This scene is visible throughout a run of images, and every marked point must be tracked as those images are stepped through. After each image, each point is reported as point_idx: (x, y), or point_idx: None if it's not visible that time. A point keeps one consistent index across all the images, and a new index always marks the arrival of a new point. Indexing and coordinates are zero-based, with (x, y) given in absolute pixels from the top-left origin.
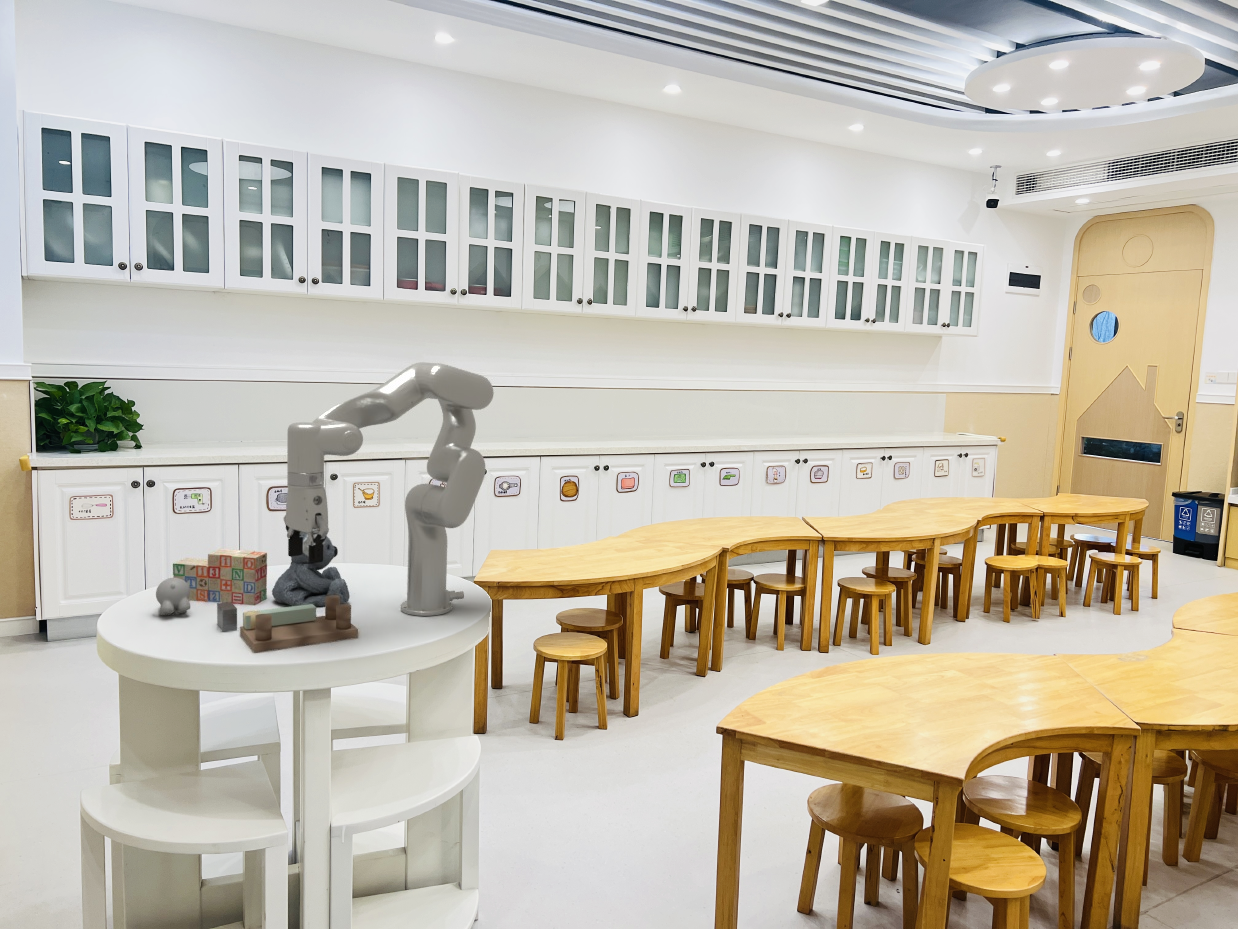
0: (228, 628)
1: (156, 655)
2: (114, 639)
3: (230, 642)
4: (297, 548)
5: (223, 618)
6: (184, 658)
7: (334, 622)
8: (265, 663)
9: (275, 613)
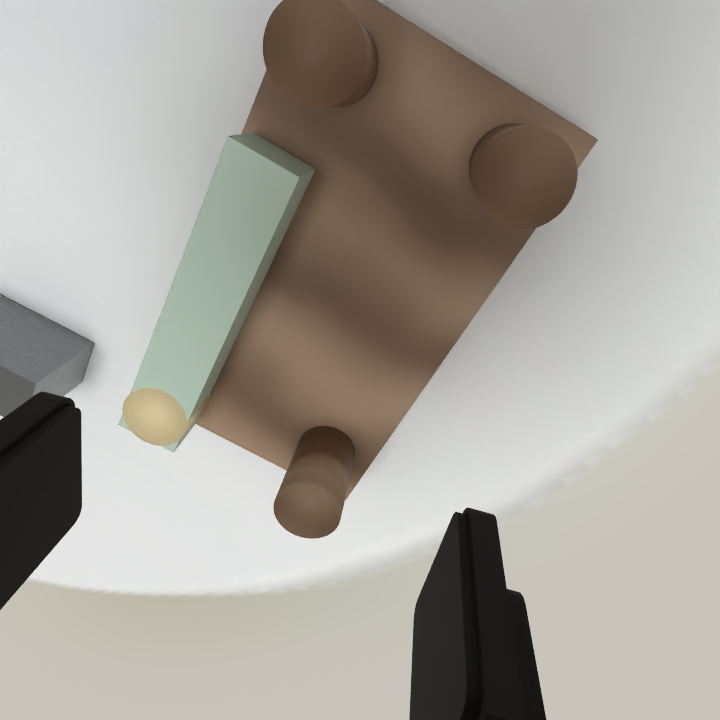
0: (79, 371)
1: (155, 589)
2: None
3: (199, 440)
4: (26, 503)
5: None
6: (230, 578)
7: (406, 122)
8: None
9: (218, 355)
